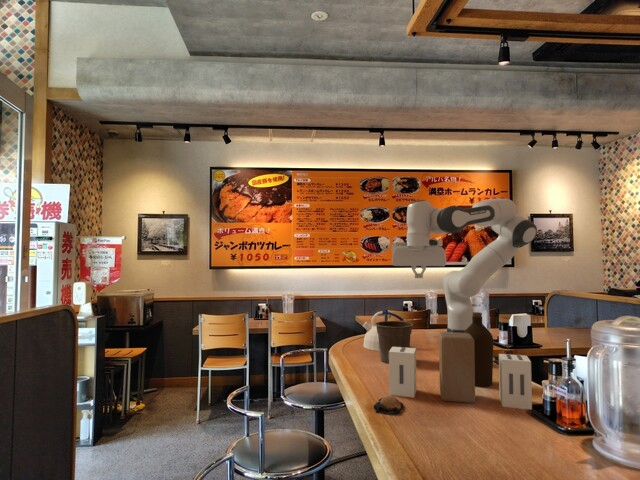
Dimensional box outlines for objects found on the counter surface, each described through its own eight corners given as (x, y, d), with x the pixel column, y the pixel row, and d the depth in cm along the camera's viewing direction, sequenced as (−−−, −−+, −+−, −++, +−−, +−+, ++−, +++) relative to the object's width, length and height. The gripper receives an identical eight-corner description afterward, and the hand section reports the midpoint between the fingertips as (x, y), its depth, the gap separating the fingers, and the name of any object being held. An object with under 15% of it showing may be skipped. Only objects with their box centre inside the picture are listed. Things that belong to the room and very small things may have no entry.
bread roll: (377, 402, 128) (377, 390, 129) (405, 405, 126) (405, 393, 126) (371, 414, 118) (370, 401, 119) (400, 418, 116) (400, 404, 116)
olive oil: (479, 389, 140) (477, 315, 141) (456, 381, 149) (455, 311, 151) (501, 385, 145) (499, 313, 146) (477, 377, 154) (476, 310, 155)
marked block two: (499, 398, 131) (498, 353, 132) (527, 400, 129) (526, 354, 129) (502, 406, 123) (501, 359, 124) (532, 409, 121) (531, 361, 122)
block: (475, 404, 125) (474, 338, 126) (441, 401, 128) (440, 336, 129) (471, 393, 135) (470, 332, 136) (439, 391, 137) (438, 331, 138)
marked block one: (392, 387, 142) (392, 346, 142) (416, 390, 139) (416, 347, 140) (389, 395, 134) (388, 351, 134) (414, 397, 131) (413, 352, 132)
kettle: (363, 342, 219) (363, 308, 220) (402, 343, 216) (402, 309, 217) (361, 350, 199) (361, 313, 200) (405, 352, 196) (405, 314, 197)
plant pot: (388, 367, 168) (388, 327, 169) (368, 358, 183) (368, 322, 184) (421, 363, 175) (420, 325, 176) (399, 355, 190) (399, 319, 190)
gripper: (389, 242, 159) (390, 278, 158) (445, 241, 151) (445, 278, 151) (393, 242, 165) (393, 277, 164) (446, 241, 157) (447, 278, 157)
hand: (418, 278), depth 157 cm, fingers closed
